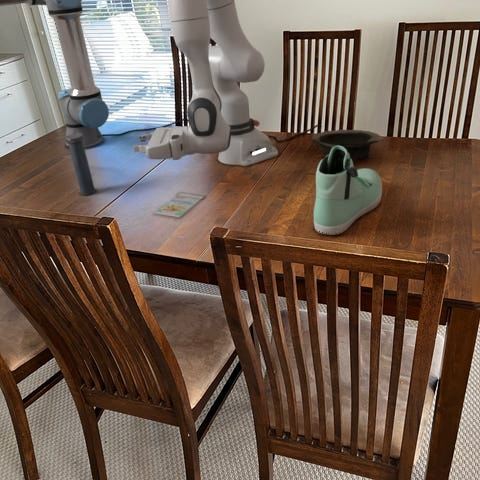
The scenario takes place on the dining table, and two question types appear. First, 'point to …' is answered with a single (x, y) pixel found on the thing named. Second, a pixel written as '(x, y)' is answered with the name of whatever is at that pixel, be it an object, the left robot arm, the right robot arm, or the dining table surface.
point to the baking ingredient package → (179, 204)
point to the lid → (74, 138)
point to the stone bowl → (347, 142)
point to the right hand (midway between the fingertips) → (137, 143)
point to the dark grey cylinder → (82, 168)
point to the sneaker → (343, 192)
